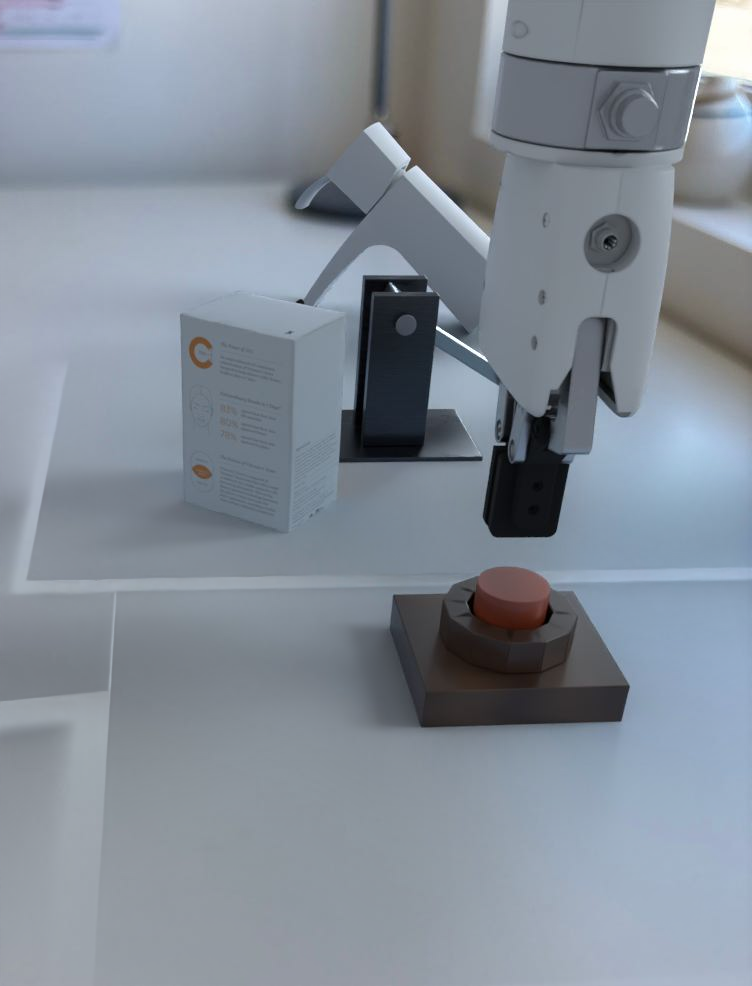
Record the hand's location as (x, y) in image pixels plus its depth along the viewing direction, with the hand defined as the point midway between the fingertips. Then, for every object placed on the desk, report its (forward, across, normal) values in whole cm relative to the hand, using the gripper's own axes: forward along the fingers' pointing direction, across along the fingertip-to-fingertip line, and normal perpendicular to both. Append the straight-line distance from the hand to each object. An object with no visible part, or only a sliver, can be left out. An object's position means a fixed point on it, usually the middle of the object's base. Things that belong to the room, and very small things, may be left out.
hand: (518, 528), depth 54 cm
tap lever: (+2, +29, -3) cm, 29 cm away
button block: (+8, 0, 0) cm, 9 cm away
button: (+5, 0, 0) cm, 5 cm away
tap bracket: (+8, +29, +1) cm, 30 cm away
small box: (+9, +19, +11) cm, 24 cm away
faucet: (+8, +60, -6) cm, 61 cm away
